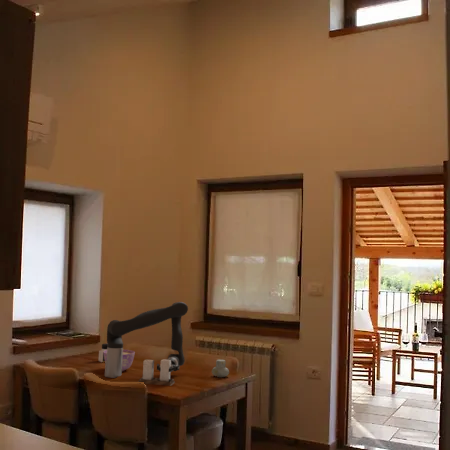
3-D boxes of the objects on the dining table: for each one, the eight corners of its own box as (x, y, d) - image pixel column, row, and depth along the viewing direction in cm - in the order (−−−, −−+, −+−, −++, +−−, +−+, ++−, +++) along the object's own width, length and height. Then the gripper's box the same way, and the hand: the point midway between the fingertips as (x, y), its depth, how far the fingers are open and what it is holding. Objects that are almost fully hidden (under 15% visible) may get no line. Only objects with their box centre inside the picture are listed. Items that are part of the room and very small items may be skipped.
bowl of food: (127, 374, 338) (128, 355, 339) (96, 371, 342) (97, 352, 343) (138, 368, 357) (139, 350, 358) (109, 366, 361) (110, 348, 362)
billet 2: (159, 382, 313) (160, 360, 314) (161, 380, 318) (162, 359, 319) (168, 382, 312) (169, 361, 313) (170, 380, 317) (171, 359, 318)
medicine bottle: (102, 362, 372) (103, 344, 373) (98, 361, 378) (99, 343, 379) (112, 362, 376) (113, 344, 377) (108, 360, 382) (109, 342, 383)
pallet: (136, 384, 311) (136, 380, 311) (141, 380, 322) (141, 376, 322) (171, 387, 309) (171, 382, 309) (175, 383, 320) (175, 378, 320)
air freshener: (209, 375, 347) (210, 359, 348) (220, 374, 352) (221, 358, 353) (220, 378, 339) (220, 362, 339) (230, 377, 344) (231, 361, 344)
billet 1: (142, 382, 314) (143, 360, 315) (144, 380, 319) (145, 359, 320) (150, 382, 313) (152, 361, 314) (153, 381, 318) (154, 360, 319)
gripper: (159, 357, 331) (152, 362, 314) (182, 358, 329) (177, 364, 312) (158, 370, 330) (151, 375, 313) (182, 371, 329) (176, 377, 312)
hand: (164, 369), depth 313 cm, fingers closed on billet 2, 5 cm apart
